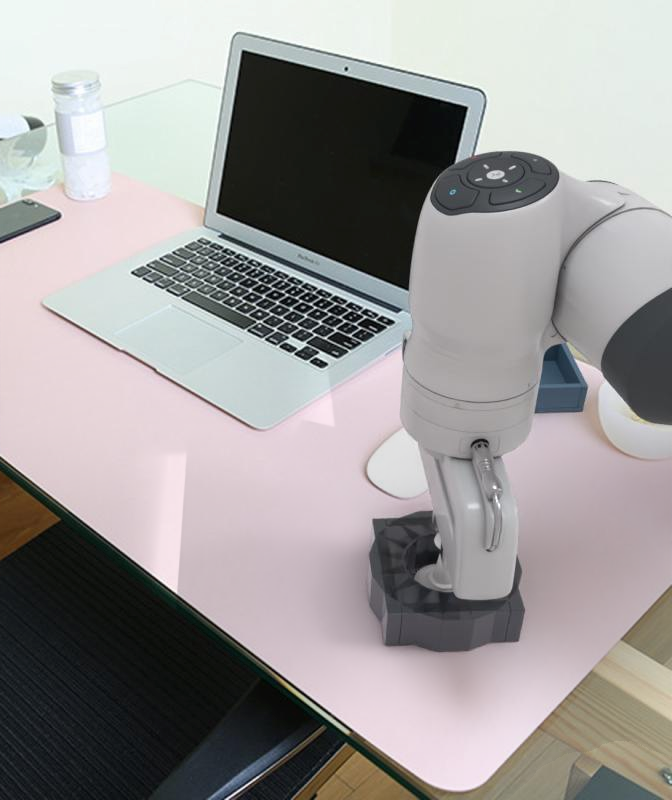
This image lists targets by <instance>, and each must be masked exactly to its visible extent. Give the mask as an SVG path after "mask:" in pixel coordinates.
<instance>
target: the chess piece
mask: <svg viewBox="0 0 672 800" xmlns="http://www.w3.org/2000/svg"><path fill="white" fill-rule="evenodd" d="M434 542H435V545H436V546H437V547H438V548H439V549H441V538H440V534H439V533H438V534H437V535H436V536H435V539H434ZM413 578H414V579H415V580H416V581H417V582H419V583H420V584H422V585H424V586H425V587H427V588H431V589H434V590H438V591H442V592H453V589H452V584H451V580H450V576H449V572H448V570H446V569H444V568H443V565H442V560H441V556H440V554H439V558H438V561H437V564H431V565H424V566H422V567H420V569H419V570H417V572H416V573H415V574H414V575H413Z"/></svg>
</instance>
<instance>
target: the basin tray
mask: <svg viewBox="0 0 672 800" xmlns="http://www.w3.org/2000/svg"><path fill="white" fill-rule="evenodd" d="M588 389H589V385H588V383H587V381H586V379H585V377H584V376H583V373H582V371H581V369H580V367H579V365H578V363H577V362H576V359H575V357H574V356H573V353H572V352H571V350H570V347H569V346H568V344H567V343H562V344H556V345H553V346H551V347H550V348H548V349H547V350H546V352H545V354H544V357H543V366H542V373H541V378H540V384H539V389H538V395H537V400H536V406H535V412H534V414H536V413H565V412H566V413H569V412H584V407H585V403H586V399H587V394H588Z"/></svg>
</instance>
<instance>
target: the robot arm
mask: <svg viewBox="0 0 672 800" xmlns="http://www.w3.org/2000/svg"><path fill="white" fill-rule="evenodd" d="M417 221H418V222H417V227H416V231H415V236H414V242H413V248H412V254H411V262H410V271H409V272H410V273H409V285H408V295H407V296H408V297H407V304H408V305H407V306H408V311H409V313H410V318H411V325H412V326H411V329H408V330H405V331H404V332H403V334H402V344H401V358H402V374H401V388H400V401H399V419H400V422H401V425H402V427H403V428H404V431H405V432H406V433H407V434H408V435H409V436H410V438H411V439H413V440H414V441H415V442H416V443H417V447H418V450H419V454H420V458H421V463H422V467H423V471H424V475H425V479H426V484H427V488H428V491H429V497H430V500H431V505H432V511H433V515H432V522H433V527H434V530H435V534H436V535H437V534H438V533H439V534H440V538H441V549H440V556H441V560H442V565H443V568H444V569H446V570H448V572H449V576H450V580H451V584H452V589H453V592H454V594H455V596H456V597H458V598H460V599H469V600H486V599H497V598H502V597H505V596H507V595H508V594H509V593H510V592H511V589H512V586H513V580H514V572H515V564H516V555H517V556H518V545H519V533H520V532H519V531H520V519H519V507H518V503H517V498H516V494H515V492H514V489H513V486H512V483H511V480H510V477H509V474H508V472H507V467H506V466H505V463H504V460H503V456H504V455H506V454H509V453H511V452H513V451H514V450H516V449H517V448H519V447H521V445H523V444H524V443H525V442H526V440H528V438H529V436H530V434H531V432H532V427H533V422H534V417H535V413H534V412H535V406H536V400H537V395H538V389H539V384H540V378H541V373H542V366H543V357H544V354H545V352H546V350H547V349H548V348H550V347H551V346H553V345H556V344H562V343H566V344H567V343H568V344H570V345H571V346H572V347H573V348H574V349H575V350H577V352H578V353H579V354H581V355H582V356H583V357H584V358H585V359H586V360H587V361H588V362H589V363H590V364H592V365H593V366H594V367H595V368H596V369H597V370H598V371H599V372H600V373H601V374H602V377H603V378H604V379H605V381H606V382H607V383H608V384H609V385H610V387H611V388H613V390H614V391H615V392H616V393H617V395H619V397H620V398H621V399H622V400H623V401H624V403H625V404H626V405H627V406H628V408H630V409H631V411H632V412H633V413H634V414H635V415H636V416H637V417H638V418H640V419H641V420H643V421H644V422H645V421H646V422H647V423H651V424H655V425H662V426H663V425H664V426H672V215H670V213H668V212H666V211H665V210H663V209H662V208H660V207H658V206H657V205H656V204H654V203H652V202H651V201H649V200H647V199H646V198H644V197H642V195H639V194H638V193H636V192H635V191H633V190H631V189H629V188H627V187H624V186H622V185H620V184H617V183H615V182H612V181H610V180H609V181H608V180H601V179H594V180H593V179H592V180H591V179H590V180H581V179H578V178H575V177H572V176H571V175H568V174H567V173H565V172H564V171H562V170H560V169H559V168H558V166H556V164H554V163H553V162H552V161H550V160H549V159H547V158H545V157H543V156H541V155H539V154H536V153H531V152H526V151H520V150H519V151H517V150H497V151H488V152H483V153H478V154H476V155H472V156H470V157H467V158H465V159H462V160H459V161H457V162H455V163H454V164H452V165H450V166H449V167H447V168H446V169H444V170H443V171H442V172H441V173H440V174H439V176H437V178H436V179H435V180H434V182H433V183H432V186H431V187H430V188H429V191H428V192H427V194H426V196H425V199H424V202H423V205H422V208H421V210H420V214H419V219H418V220H417Z"/></svg>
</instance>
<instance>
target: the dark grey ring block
mask: <svg viewBox="0 0 672 800" xmlns="http://www.w3.org/2000/svg"><path fill="white" fill-rule="evenodd" d="M432 515H433V510H418V511H415V512H412V513H409V514H406V515H403V516H400V517H381V518H380V517H379V518H375V517H374V518H372V519H371V530H370V543H369V545H370V546H369V552H368V557H367V574H366V590H367V596H368V603H369V608H370V609H371V610H372V612H373V613H374V614H375V616H376V617H377V618H378V620H379V622H380V623H381V629H382V635H383V643H384V646H417V647H420V648H424V649H427V650H431V651H434V652H439V653H441V652H467V651H468V652H469V651H472V650H474V649H477V648H479V647H482V646H484V645H487V644H489V643H503V642H505V643H506V642H507V643H510V642H519V641H520V637H521V633H522V628H523V624H524V618H525V614H526V607H525V604H524V601H523V597H522V594H521V591H520V585H521V581H522V576H523V567H522V565H521V563H520V562H521V561H520V559H519V556H518V554H517V555H516V564H515V572H514V580H513V586H512V589H511V592H510V593H509V594H508V595H507V596H505V597H502V598H497V599H486V600H469V599H460V598H458V597H456V596H455V594H454V592H442V591H438V590H434V589H431V588H427V587H425V586H424V585H422V584H420V583H419V582H417V581H416V580H415V579H414V576H413V575H412V574H411V573H412V572H413V571H414V570H416V569H418V568H422V567H425V566H428V565H431V564H437V561H438V558H439V554H440V549H439V548H438V547H437V546H436V545H435V542H434V539H435V536H436V534H435V530H434V527H433V522H432Z"/></svg>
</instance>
